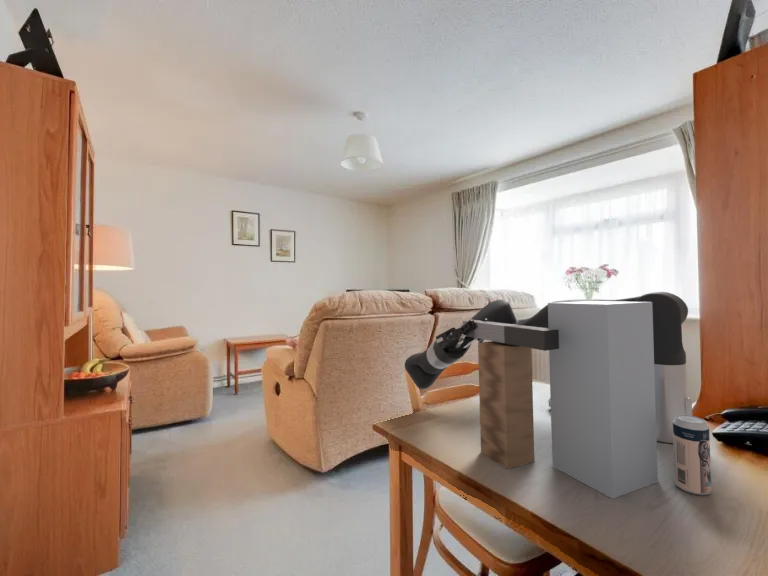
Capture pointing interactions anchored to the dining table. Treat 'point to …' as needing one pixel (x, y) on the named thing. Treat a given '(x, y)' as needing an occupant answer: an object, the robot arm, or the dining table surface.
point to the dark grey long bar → (516, 334)
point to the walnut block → (506, 403)
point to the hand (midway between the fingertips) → (480, 323)
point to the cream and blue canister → (691, 454)
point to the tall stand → (604, 394)
